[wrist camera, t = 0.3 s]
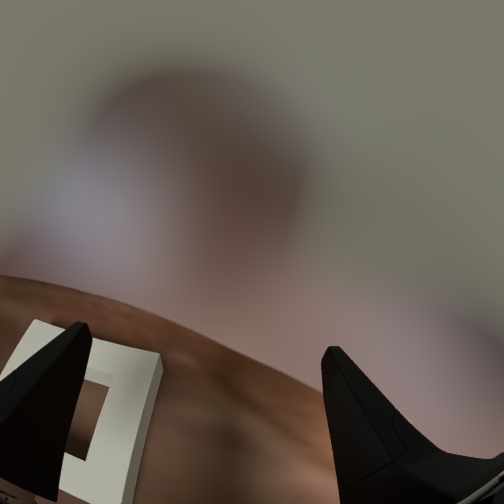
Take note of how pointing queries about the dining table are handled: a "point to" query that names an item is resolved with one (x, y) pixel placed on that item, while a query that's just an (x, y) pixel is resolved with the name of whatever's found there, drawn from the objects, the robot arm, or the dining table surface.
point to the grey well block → (106, 415)
